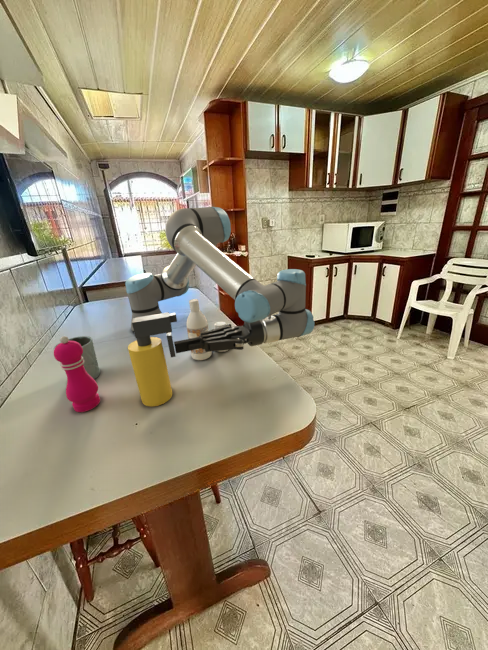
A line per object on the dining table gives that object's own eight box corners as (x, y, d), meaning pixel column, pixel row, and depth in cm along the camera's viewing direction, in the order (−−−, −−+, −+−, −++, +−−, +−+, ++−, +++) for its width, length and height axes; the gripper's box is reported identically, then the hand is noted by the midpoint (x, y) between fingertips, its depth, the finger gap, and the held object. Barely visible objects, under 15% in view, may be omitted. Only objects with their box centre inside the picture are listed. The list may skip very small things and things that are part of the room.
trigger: (170, 352, 70) (166, 331, 68) (174, 351, 71) (170, 331, 68) (170, 357, 68) (166, 336, 65) (175, 356, 68) (171, 335, 66)
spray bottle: (142, 391, 75) (122, 316, 66) (187, 381, 78) (174, 308, 69) (141, 409, 67) (119, 328, 59) (191, 397, 71) (176, 318, 62)
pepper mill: (68, 416, 67) (39, 345, 59) (76, 399, 73) (51, 333, 66) (99, 409, 69) (75, 339, 61) (104, 393, 75) (83, 328, 68)
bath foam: (187, 358, 91) (177, 302, 83) (200, 349, 96) (192, 296, 89) (203, 362, 87) (195, 304, 80) (215, 353, 93) (208, 298, 85)
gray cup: (104, 365, 90) (94, 333, 86) (100, 381, 81) (89, 346, 77) (70, 373, 87) (58, 340, 83) (63, 390, 78) (48, 354, 74)
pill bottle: (227, 353, 92) (224, 327, 89) (213, 351, 94) (209, 326, 90) (232, 346, 97) (230, 321, 93) (219, 344, 99) (216, 320, 95)
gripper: (252, 311, 79) (171, 325, 73) (269, 326, 67) (174, 344, 61) (253, 334, 82) (175, 349, 76) (270, 352, 70) (179, 372, 64)
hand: (175, 347), depth 69 cm, fingers closed
